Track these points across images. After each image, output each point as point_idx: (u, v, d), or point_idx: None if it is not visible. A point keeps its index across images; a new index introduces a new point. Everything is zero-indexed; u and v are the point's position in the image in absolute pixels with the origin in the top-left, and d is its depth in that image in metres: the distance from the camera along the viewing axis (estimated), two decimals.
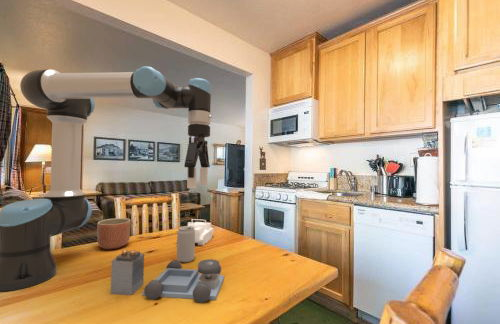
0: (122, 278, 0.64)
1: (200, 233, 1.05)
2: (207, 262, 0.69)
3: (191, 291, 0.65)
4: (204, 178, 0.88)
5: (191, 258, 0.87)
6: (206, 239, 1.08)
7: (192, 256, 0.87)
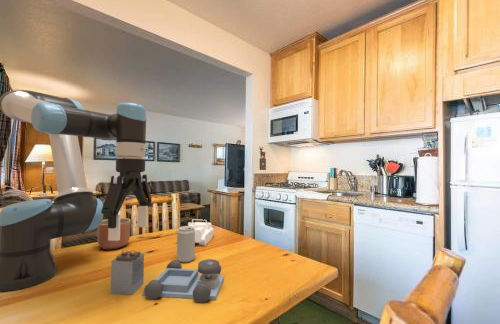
0: (122, 278, 0.64)
1: (202, 233, 1.05)
2: (207, 262, 0.69)
3: (191, 291, 0.65)
4: (142, 219, 0.74)
5: (191, 258, 0.87)
6: (207, 239, 1.09)
7: (192, 256, 0.87)
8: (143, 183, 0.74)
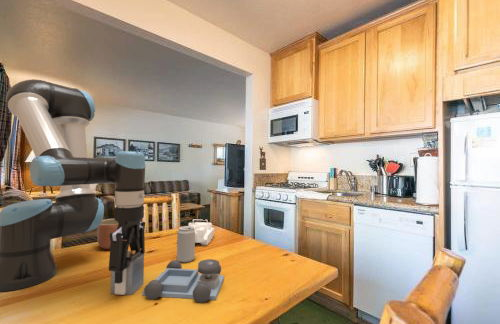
0: None
1: (204, 233, 1.05)
2: (207, 262, 0.69)
3: (191, 291, 0.65)
4: None
5: (191, 258, 0.87)
6: (209, 239, 1.09)
7: (192, 256, 0.87)
8: (140, 231, 0.73)
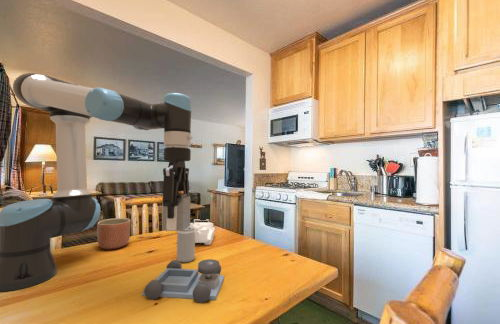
0: None
1: (207, 233, 1.05)
2: (207, 262, 0.69)
3: (191, 291, 0.65)
4: None
5: (191, 258, 0.87)
6: (211, 239, 1.09)
7: (192, 256, 0.87)
8: None
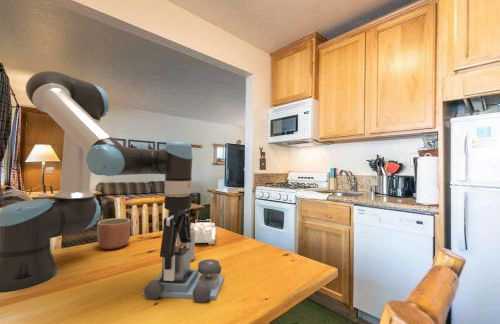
0: None
1: (211, 233, 1.06)
2: (207, 262, 0.69)
3: (191, 291, 0.65)
4: None
5: (191, 258, 0.87)
6: None
7: (192, 256, 0.87)
8: (186, 218, 0.75)
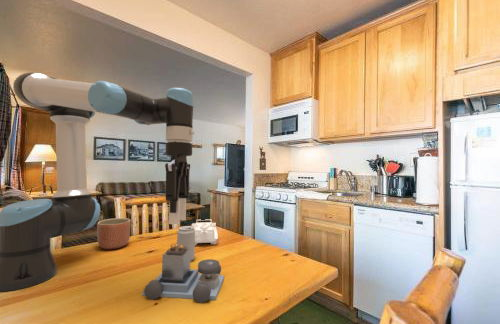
0: (173, 272, 0.66)
1: (214, 232, 1.06)
2: (207, 262, 0.69)
3: (191, 291, 0.65)
4: (181, 211, 0.72)
5: (191, 258, 0.87)
6: None
7: (192, 256, 0.87)
8: None
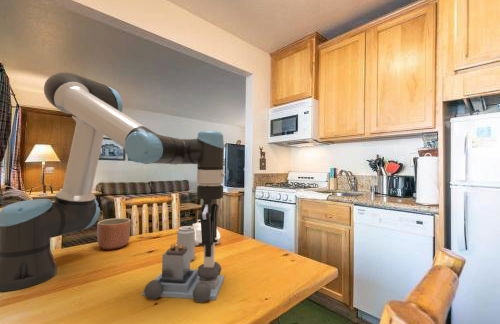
0: (173, 272, 0.66)
1: None
2: None
3: (191, 291, 0.65)
4: None
5: (191, 258, 0.87)
6: None
7: (192, 256, 0.87)
8: None
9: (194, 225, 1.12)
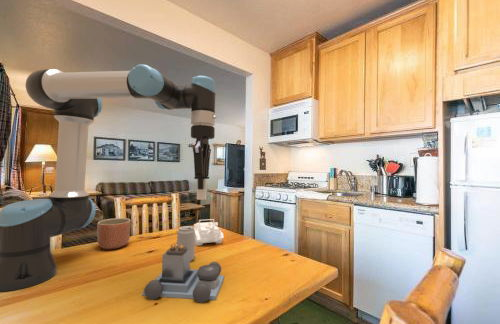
0: (173, 272, 0.66)
1: None
2: (207, 267, 0.69)
3: (191, 291, 0.65)
4: None
5: (191, 258, 0.87)
6: None
7: (192, 256, 0.87)
8: None
9: (196, 225, 1.12)
